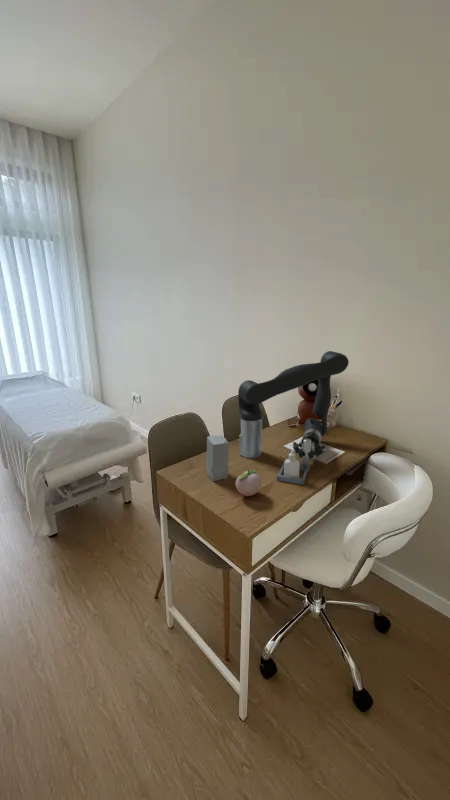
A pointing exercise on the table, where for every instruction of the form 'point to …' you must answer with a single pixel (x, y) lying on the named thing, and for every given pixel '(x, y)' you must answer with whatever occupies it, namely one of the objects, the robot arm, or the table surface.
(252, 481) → the decorative fruit
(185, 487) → the table surface
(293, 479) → the pull frame
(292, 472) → the eye dropper bottle
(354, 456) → the table surface
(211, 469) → the skincare box
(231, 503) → the table surface
